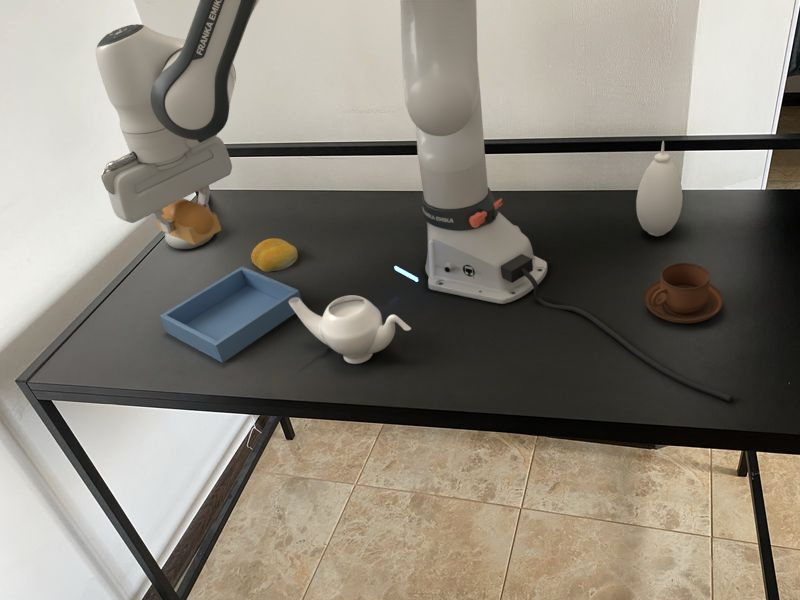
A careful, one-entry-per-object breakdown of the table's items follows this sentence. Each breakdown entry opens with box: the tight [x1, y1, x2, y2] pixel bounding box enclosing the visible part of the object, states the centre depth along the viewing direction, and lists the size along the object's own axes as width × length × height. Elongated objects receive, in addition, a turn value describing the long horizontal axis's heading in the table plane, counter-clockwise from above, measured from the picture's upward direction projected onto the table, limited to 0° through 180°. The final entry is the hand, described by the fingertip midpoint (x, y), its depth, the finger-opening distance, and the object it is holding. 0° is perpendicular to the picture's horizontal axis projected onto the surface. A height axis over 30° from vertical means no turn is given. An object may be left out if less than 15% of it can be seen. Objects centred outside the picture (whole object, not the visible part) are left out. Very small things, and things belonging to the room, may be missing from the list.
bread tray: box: [159, 266, 303, 363], centre depth 127 cm, size 16×18×4 cm
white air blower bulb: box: [635, 140, 684, 237], centre depth 132 cm, size 8×8×18 cm
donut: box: [164, 232, 215, 250], centre depth 153 cm, size 10×4×10 cm
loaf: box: [155, 197, 222, 245], centre depth 121 cm, size 11×5×5 cm, turn 52°
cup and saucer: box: [643, 262, 724, 324], centre depth 117 cm, size 12×12×6 cm
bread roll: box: [250, 237, 299, 273], centre depth 142 cm, size 8×9×4 cm
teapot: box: [289, 294, 412, 365], centre depth 115 cm, size 10×20×9 cm, turn 72°
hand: (187, 221), depth 122 cm, fingers closed on loaf, 5 cm apart
